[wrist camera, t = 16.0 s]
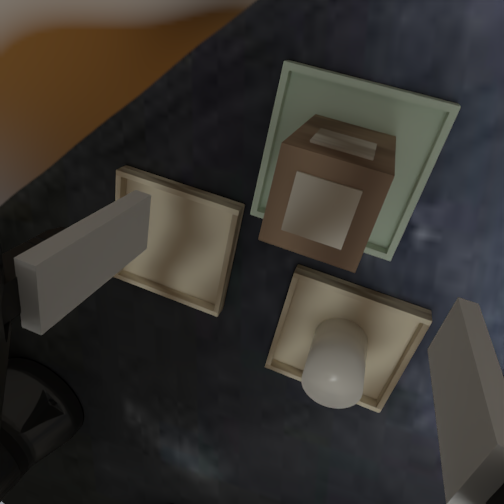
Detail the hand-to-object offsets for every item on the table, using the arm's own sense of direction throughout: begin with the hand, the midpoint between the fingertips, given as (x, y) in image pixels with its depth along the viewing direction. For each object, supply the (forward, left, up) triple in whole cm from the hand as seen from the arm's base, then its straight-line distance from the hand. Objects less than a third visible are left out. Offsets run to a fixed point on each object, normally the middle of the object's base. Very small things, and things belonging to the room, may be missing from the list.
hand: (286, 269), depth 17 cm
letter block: (0, 0, -17) cm, 17 cm away
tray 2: (0, 0, -17) cm, 17 cm away
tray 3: (+5, -16, -17) cm, 24 cm away
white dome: (+5, -16, -17) cm, 24 cm away
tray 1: (-13, -12, -17) cm, 24 cm away
